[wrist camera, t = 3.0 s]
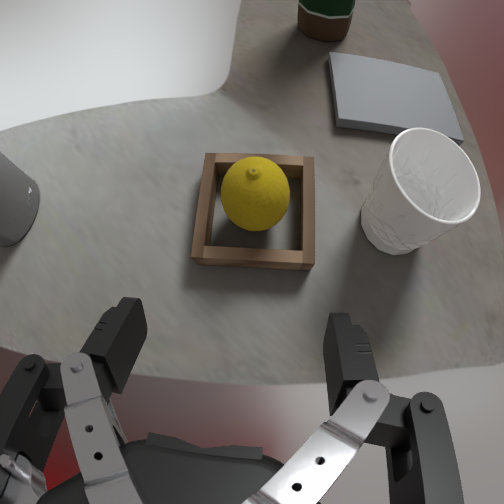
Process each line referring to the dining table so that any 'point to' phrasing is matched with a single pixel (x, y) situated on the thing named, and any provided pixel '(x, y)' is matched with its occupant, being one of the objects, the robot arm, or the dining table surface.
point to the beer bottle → (325, 18)
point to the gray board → (389, 97)
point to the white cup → (419, 192)
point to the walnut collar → (252, 256)
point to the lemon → (255, 193)
